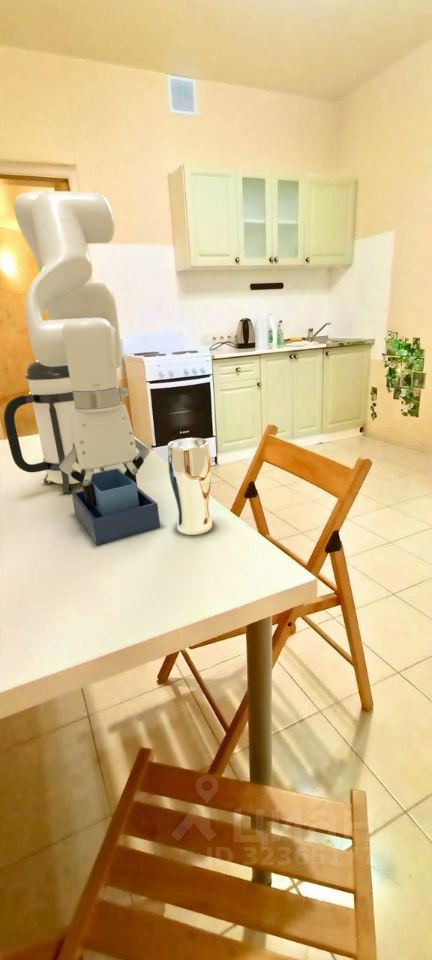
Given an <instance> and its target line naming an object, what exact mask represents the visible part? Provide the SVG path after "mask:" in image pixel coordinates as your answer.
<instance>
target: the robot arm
mask: <svg viewBox="0 0 432 960" xmlns="http://www.w3.org/2000/svg"><path fill="white" fill-rule="evenodd" d="M13 211H14V216H15V220H16V222H17V225H18V228H19V230H20V232H21V234H22V237H23V238H24V241H25V242H26V244H27V246H28V247H29V249H30V252H31V253H32V255H33V257H34V260H35V262H36V267H37V270H38V273H37V275H36V276H35V278H34V279H33V281H32V282H31V284H30V286H29V288H28V290H27V293H26V296H25V301H24V316H25V322H26V327H27V333H28V338H29V344H30V348H31V351H32V354H33V357H34V358H35V361H38V362H39V363H40V364H42V365H44V366H48V367H55V366H67V365H68V370H69V376H70V382H71V388H72V394H73V399H74V405H75V409H71V410H70V432H71V442H72V450H71V451H70V452H69V454H68V455H67V456H66V458H65V459H64V460H63V461H62V463H61V464H60V465H59V468H60V469H61V470H62V471H63V472H65V473H66V474H68V475H69V476H71V477H72V478H74V479H75V480H77V481H79V482H80V483H81V484H82V490H84V495H85V499H86V501H87V502H88V501H89V502H90V504H91V505H92V506H93V507H94V506H96V505H97V503H96V497H95V491H94V485H93V484H92V483H91V478H92V475H93V471H94V469H97V468H102V467H103V468H106V467H111V466H115V465H121V464H122V465H123V466H124V468H125V471H124V472H123V473H124V474H125V475H126V476H127V477H129V478H130V479H131V480H132V481H134V482H135V483H136V484H137V485H138V481H137V474H138V473H139V470H140V468H141V466H142V465H143V464H144V461H145V460H146V458H147V457H148V455H149V454H150V453H151V449H150V448H149V447H147V446H146V445H145V444H143V443H141V442H140V441H139V440H137V439H135V435H134V429H133V426H132V422H131V419H130V418H131V417H130V415H129V411H128V409H127V406H126V404H125V403H123V398H124V397H127V396H129V390H128V387H124V388H123V387H122V386H121V385H120V384H119V375H118V369H119V368H120V367H121V366H122V362H123V353H122V343H121V335H120V327H119V317H118V310H117V304H116V299H115V295H114V293H113V291H112V289H111V288H110V287H109V285H108V284H105V283H104V282H89V281H90V279H91V277H92V275H93V265H92V261H91V257H90V253H89V250H88V249H89V248H88V245H89V244H109V243H110V242H112V240H113V239H114V235H115V217H114V213H113V211H112V207H111V205H110V203H109V201H108V199H107V198H106V196H104V194H102V193H100V192H96V191H69V190H67V191H66V190H52V191H51V190H50V191H49V190H48V191H47V190H38V191H36V190H35V191H34V190H33V191H27V192H23V193H21V194H18V195H17V196H16V197H15V199H14V201H13ZM87 244H88V245H87ZM44 312H46V316H47V319H48V320H44V319H43V314H44ZM137 451H138V453H137ZM74 461H75V462H76V463H77V464H79V465H80V467H81V468H82V469H81V473H80V472H78V471H76V470H74V469H73V468H72V467H71V466H72V464H73V463H74ZM80 483H79V484H80Z"/></svg>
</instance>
